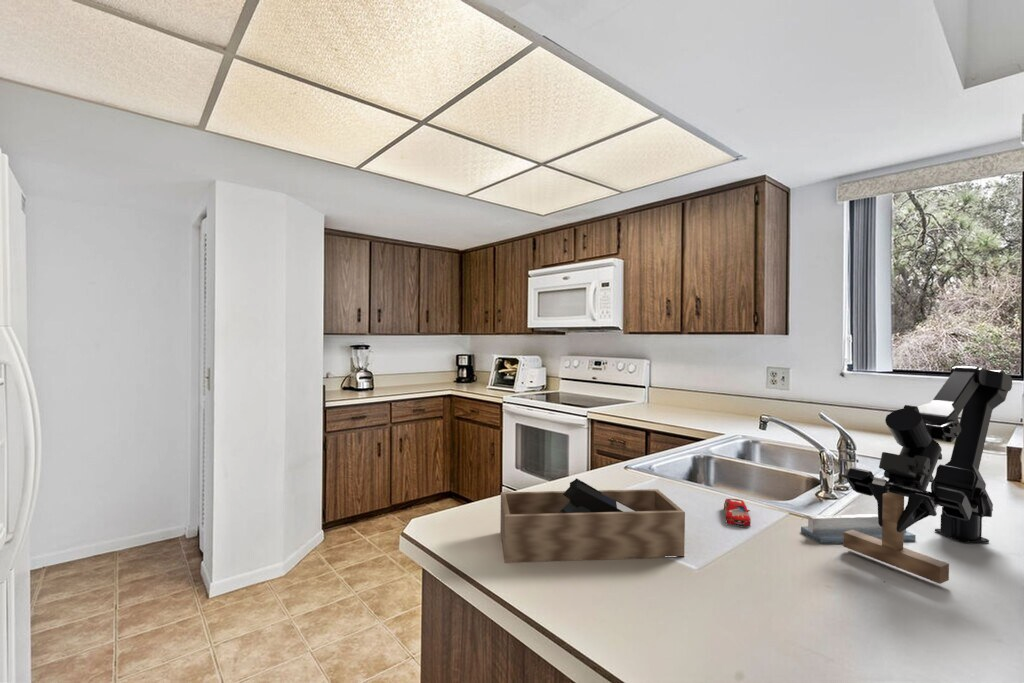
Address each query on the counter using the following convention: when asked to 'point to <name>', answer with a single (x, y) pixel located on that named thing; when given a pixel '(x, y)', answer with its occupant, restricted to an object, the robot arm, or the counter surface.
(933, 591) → the counter surface
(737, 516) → the race car
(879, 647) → the counter surface
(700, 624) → the counter surface
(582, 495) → the toy gun
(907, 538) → the ridge stand
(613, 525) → the box
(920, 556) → the wooden t-shaped stand
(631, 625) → the counter surface
